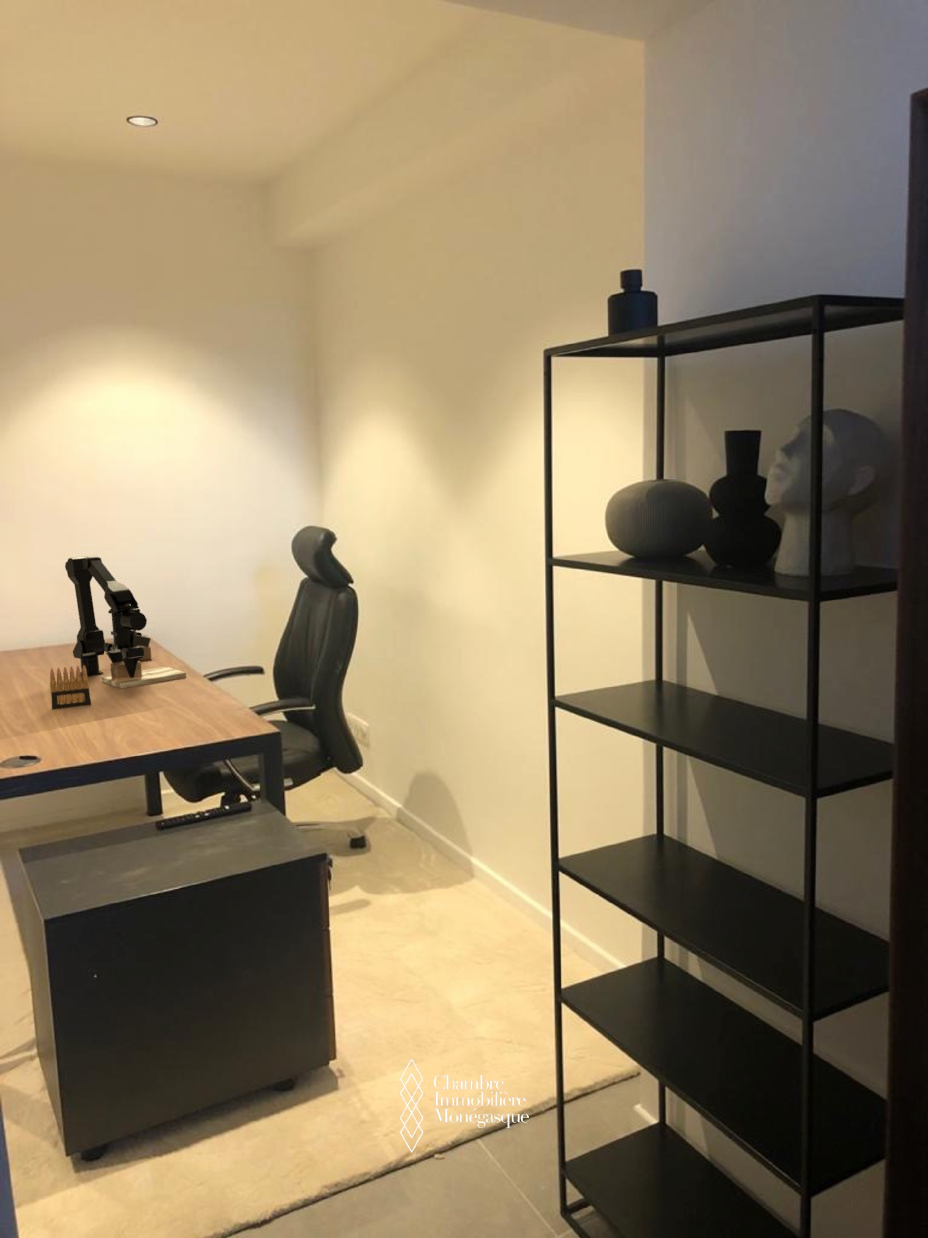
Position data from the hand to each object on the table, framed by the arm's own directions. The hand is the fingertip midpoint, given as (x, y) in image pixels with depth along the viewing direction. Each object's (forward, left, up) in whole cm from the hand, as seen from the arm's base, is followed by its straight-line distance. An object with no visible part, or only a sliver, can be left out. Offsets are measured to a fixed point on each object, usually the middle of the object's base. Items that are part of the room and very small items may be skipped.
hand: (126, 675), depth 328 cm
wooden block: (-35, +19, -2) cm, 39 cm away
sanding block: (0, 0, -1) cm, 1 cm away
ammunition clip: (+19, -25, -3) cm, 32 cm away
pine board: (0, +6, -2) cm, 6 cm away
